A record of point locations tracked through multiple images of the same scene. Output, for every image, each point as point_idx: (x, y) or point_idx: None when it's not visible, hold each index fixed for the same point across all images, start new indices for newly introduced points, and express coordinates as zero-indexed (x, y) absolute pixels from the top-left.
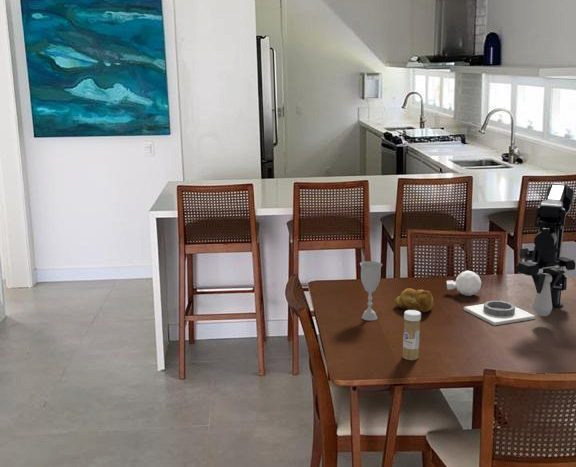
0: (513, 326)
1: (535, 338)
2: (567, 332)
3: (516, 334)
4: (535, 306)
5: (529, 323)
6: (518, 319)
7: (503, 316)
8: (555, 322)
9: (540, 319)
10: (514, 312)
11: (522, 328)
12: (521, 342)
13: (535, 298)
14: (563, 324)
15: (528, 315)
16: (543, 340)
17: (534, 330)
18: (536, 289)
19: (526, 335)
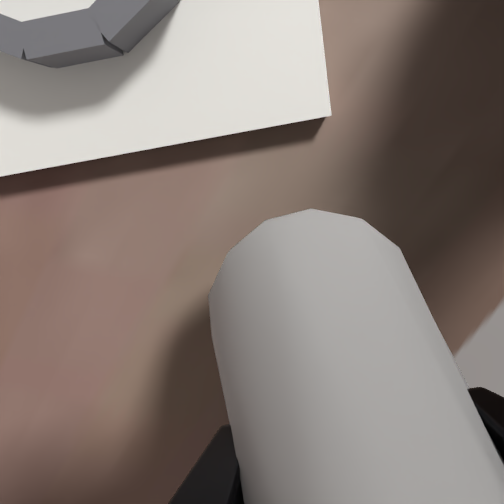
0: (73, 237)
1: (126, 446)
2: None
3: (33, 372)
4: (212, 339)
5: (224, 204)
6: (152, 148)
7: (36, 66)
8: (433, 226)
9: (363, 138)
10: (173, 3)
11: (122, 286)
12: (15, 479)
13: (219, 349)
14: (460, 275)
15: (278, 90)
16: (158, 478)
17: (187, 335)
18: (193, 482)
19: (92, 398)
